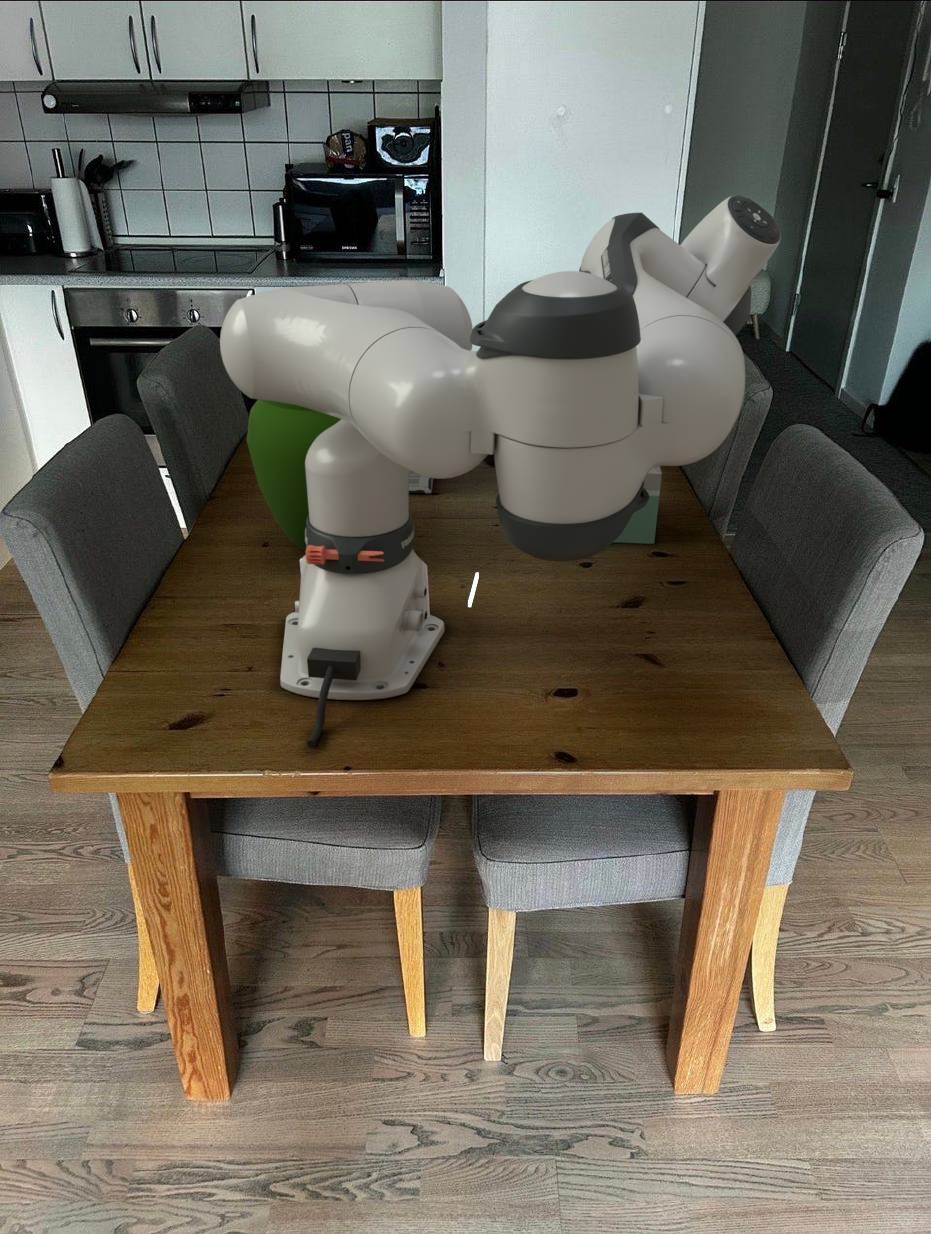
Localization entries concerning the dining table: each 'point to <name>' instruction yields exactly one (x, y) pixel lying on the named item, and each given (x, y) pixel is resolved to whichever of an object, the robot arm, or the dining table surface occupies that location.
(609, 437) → the robot arm
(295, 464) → the vase
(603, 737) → the dining table surface
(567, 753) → the dining table surface
